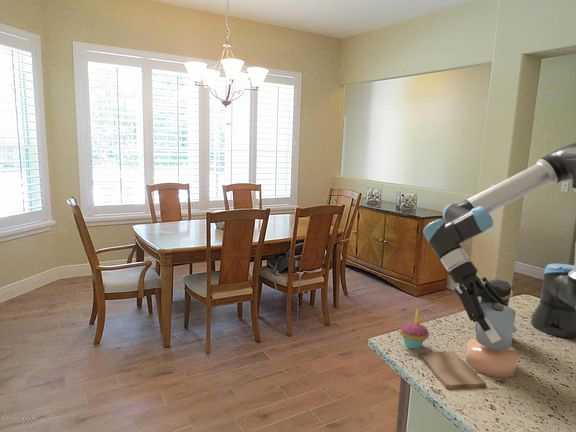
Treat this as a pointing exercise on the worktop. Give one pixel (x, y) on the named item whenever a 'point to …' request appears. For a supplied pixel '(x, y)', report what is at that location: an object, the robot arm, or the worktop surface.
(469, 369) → the mat
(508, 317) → the blue-grey knobbed jar
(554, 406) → the worktop surface
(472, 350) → the peach round dome
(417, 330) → the cupcake
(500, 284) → the coffee jar
